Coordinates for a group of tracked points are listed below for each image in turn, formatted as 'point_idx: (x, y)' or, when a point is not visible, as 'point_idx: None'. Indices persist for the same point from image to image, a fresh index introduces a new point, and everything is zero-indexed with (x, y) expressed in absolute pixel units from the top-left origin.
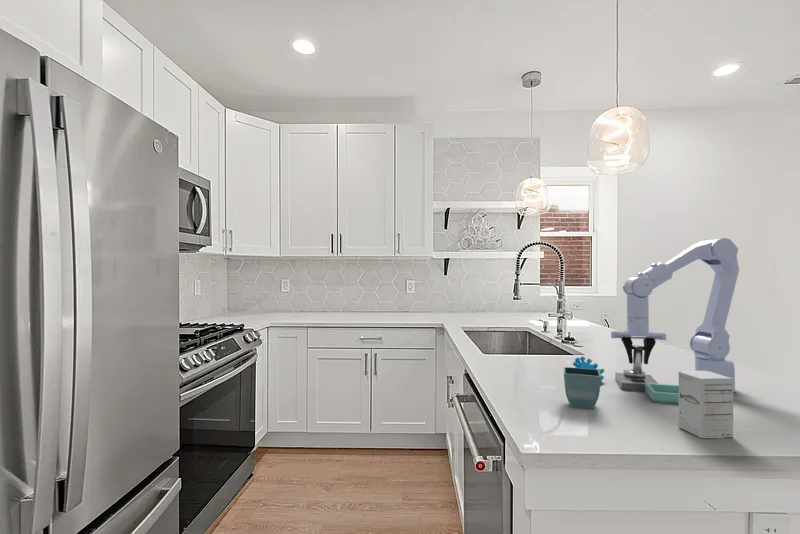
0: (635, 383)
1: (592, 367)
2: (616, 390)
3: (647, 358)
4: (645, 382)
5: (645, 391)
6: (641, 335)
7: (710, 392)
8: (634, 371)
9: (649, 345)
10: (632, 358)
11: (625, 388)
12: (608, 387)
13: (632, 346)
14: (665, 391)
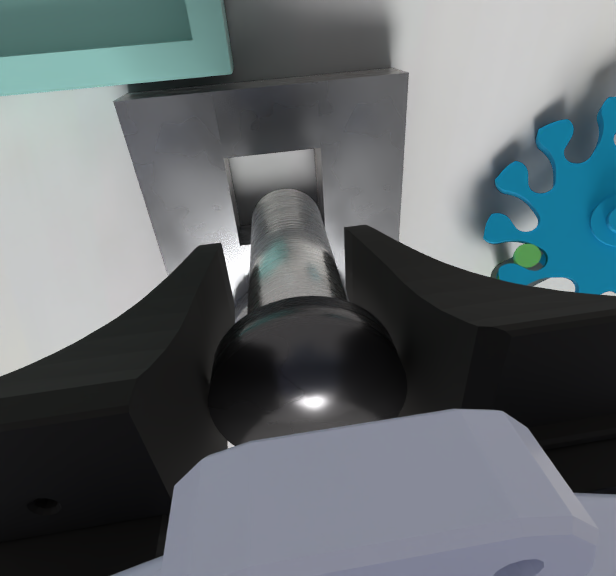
0: (301, 91)
1: (589, 268)
2: (431, 22)
3: (188, 266)
4: (227, 174)
5: (227, 28)
6: (304, 469)
7: None
8: (313, 205)
9: (104, 359)
10: (360, 239)
11: (366, 72)
12: (466, 105)
13: (400, 361)
14: (74, 48)
